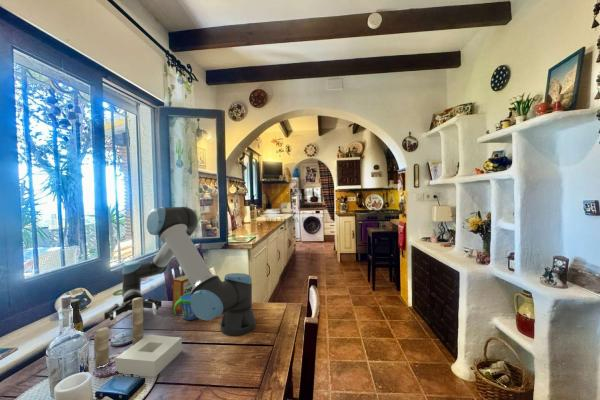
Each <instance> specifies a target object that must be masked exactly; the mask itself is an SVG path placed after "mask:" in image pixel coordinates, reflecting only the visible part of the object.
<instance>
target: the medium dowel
mask: <svg viewBox="0 0 600 400" xmlns="http://www.w3.org/2000/svg"><path fill="white" fill-rule="evenodd" d="M109 330H110V328H109V327H108V326H107V327H106V326H104V327H100V328H99V329H96V330H95V335H96V360H95V368H96V367H99V366H103V365H105V364H107V363H108V362H109V363H110V361H109V360H110V356H109V355H110V348H109V347H110V345H109V343H110V340H109V339H110V333H109V332H110V331H109Z"/></svg>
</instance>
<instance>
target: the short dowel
mask: <svg viewBox="0 0 600 400" xmlns="http://www.w3.org/2000/svg"><path fill="white" fill-rule="evenodd" d="M93 340H94V341H93V360H95V359H96V334H94V335H93Z"/></svg>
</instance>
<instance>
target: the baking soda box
mask: <svg viewBox="0 0 600 400" xmlns="http://www.w3.org/2000/svg"><path fill="white" fill-rule="evenodd" d="M192 288H193V287H192V285H191V284H190V282H189V280H188V278H187V277H186V275H185V274H184V275H180V276H178V277H174V278H173V279H172V311H174V305H175V303H176V302H177V301H178V300H179V299H180V297H181V296H182V295H185V294H188V293H191V291H192ZM175 309H176V312H180V313H182V307H181V304H180V302H179V303H178V304H177V305H176V308H175Z"/></svg>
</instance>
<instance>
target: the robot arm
mask: <svg viewBox="0 0 600 400" xmlns="http://www.w3.org/2000/svg"><path fill="white" fill-rule="evenodd" d="M198 223H199V219H198V216H197V213H196V212H195V211H194V210H193V209H191V208H190V207H187V206H171V207H170V206H169V207H167V206H166V207H165V206H161V207H154V208H152V209H151V210H150V211H149V213H148V215H147V217H146V229H147V232H148V233H149V234H150V235H151V236H152V235H153V236H158V238H159V240H160V242H164V243H163V244H162V245H161V247H160V249H158V250H159V251H157V253H156V255H155V256H154V258H153V259H152V261H149V262H143V263H141V261H140V260H133V261H132V260H131V261H127V262H125V263H123V264H122V270H121V273H122V274H121V275H122V291H121V292H122V293H121V296H122V304H119V303H115V304H114V305H112V307H111V308H109V309H107V310H106V311H105V312H104V317H103V318H104V320H108V319H109V321H113V324H112V325H117V320H116V319H117V317H118V316H119V315H121V314H122V313H126V312H128V311H132V300H133V299H134V298H138V297H142V298H143V295H142V291H141V287H142V286H141V285H142V284H141V282H142V280H143V279H146V278H149V277H153V276H156V275H157V276H158V275H162V274H163V273H167V272H168V271H169V270H170V261H171V260H172V259H173V257H175V259H176V261H177V263H178V264H179V266H180V268H181V269H182V272H183V273H184V276H185V275H186V277H187V278H188V280H189V282H190V284H191V285H192V287H193V288H192V291H191V294H192V296H191V300H190V303H191V304H192V305H191V309H192V311H193V313H194V314H195V315H196V316H197V317H198V318H197V319H199V320H201V321H203V320H204V321H211V320H213V319H215V318H218V317H220V316H221V315H222V319H221V321H220V331H221V333H222V334H224V335H227V336H241V335H246V334H248V333H251V332H252V331H253V330H254V329H255V328H256V325H257V323H256V317H255V313H254V310H253V306H252V305H253V304H252V302H253V301H252V298H253V297H252V296H253V295H252V293H253V289H252V288H253V287H252V286H253V283H252V277H251V275H250V274H247V273H240V272H239V273H238V272H237V273H233V272H232V273H228V274H225V275H224V278H223V281H222V280H221V278H220V276H219V275H217V274H213V273H212V271H211V270H210V269H209V267H208V265H207V264H206V261H205V260H204V259H203V257H202V255H201V254H200V252H199V250H198V249H197V247H196V246H195V244H194V242H193V241H192V239H191V238H190V237H191V236H192V235H193V233H194V232H195V231H196V230H197V228H198ZM161 307H162V300H161V299H157V298H153V297H152V296H148V297H147V298H146V299H144V298H143V309H144V308H145V309H146V308H147V309H152V312H153V315H157V311H158V310H159V308H161Z"/></svg>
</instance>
